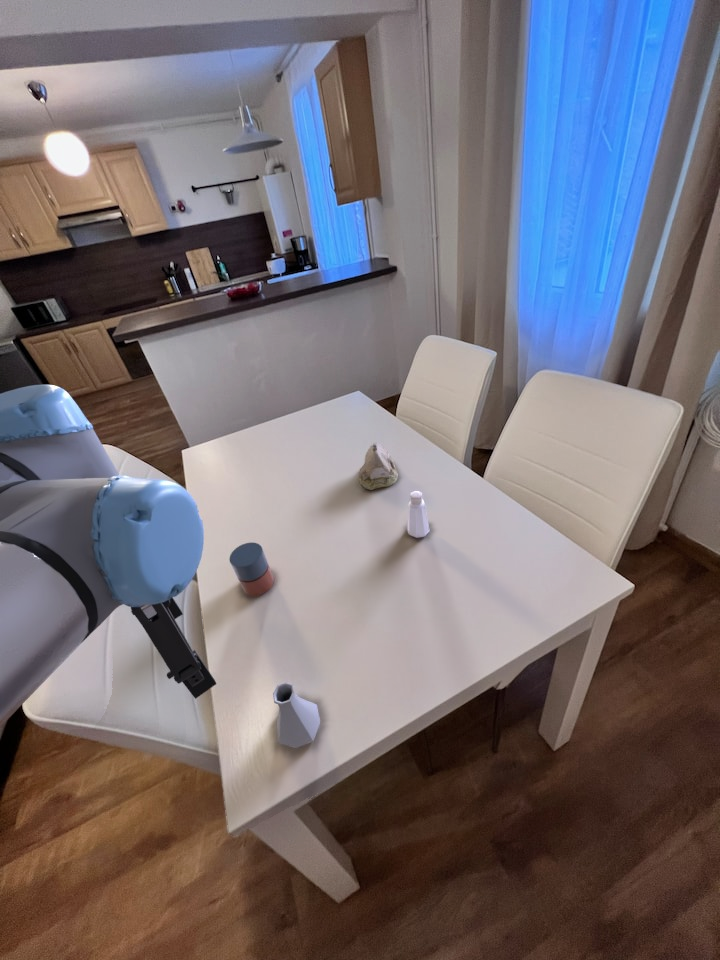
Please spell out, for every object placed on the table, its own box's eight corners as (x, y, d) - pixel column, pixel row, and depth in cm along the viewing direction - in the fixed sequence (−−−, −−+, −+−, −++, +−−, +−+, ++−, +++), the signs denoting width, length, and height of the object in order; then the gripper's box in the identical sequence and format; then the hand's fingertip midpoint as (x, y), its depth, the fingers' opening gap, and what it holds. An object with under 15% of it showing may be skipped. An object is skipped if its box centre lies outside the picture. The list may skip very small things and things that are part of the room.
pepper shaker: (434, 531, 95) (433, 495, 89) (415, 541, 94) (413, 505, 87) (420, 519, 99) (418, 484, 93) (402, 528, 98) (399, 493, 91)
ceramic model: (399, 487, 111) (396, 457, 105) (359, 491, 112) (353, 461, 106) (396, 460, 122) (393, 431, 117) (360, 463, 123) (355, 435, 118)
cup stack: (262, 600, 86) (249, 570, 80) (236, 591, 89) (222, 562, 83) (280, 575, 91) (268, 546, 85) (255, 568, 94) (243, 539, 88)
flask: (318, 748, 61) (304, 718, 55) (272, 750, 62) (254, 720, 56) (322, 699, 67) (310, 667, 61) (280, 701, 68) (264, 670, 62)
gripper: (179, 584, 34) (252, 704, 47) (122, 472, 51) (186, 581, 64) (84, 639, 31) (189, 752, 43) (56, 500, 48) (137, 609, 60)
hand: (187, 650), depth 54 cm, fingers open, 13 cm apart
